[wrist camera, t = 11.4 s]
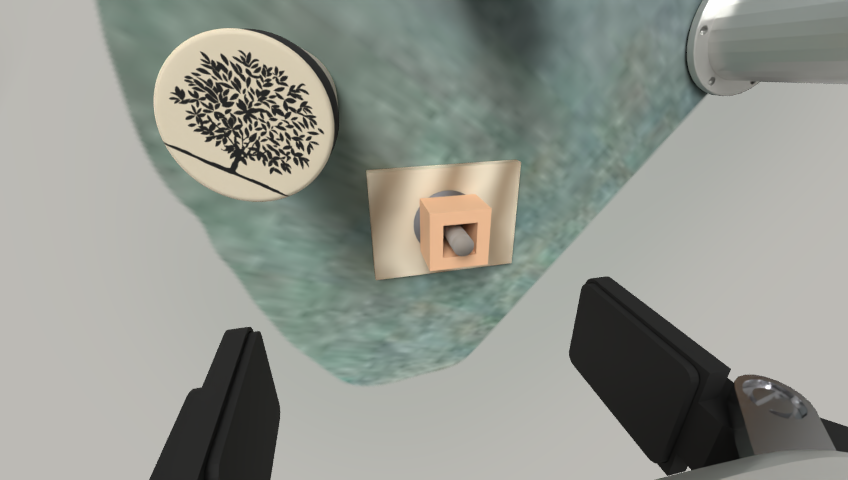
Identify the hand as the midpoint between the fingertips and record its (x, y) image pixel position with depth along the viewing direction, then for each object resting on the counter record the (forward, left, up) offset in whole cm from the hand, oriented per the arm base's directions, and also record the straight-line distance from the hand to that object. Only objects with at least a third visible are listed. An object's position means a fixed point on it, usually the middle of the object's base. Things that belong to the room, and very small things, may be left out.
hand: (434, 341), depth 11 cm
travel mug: (+6, -5, -28) cm, 30 cm away
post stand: (-8, +8, -28) cm, 30 cm away
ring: (-8, +8, -27) cm, 29 cm away
